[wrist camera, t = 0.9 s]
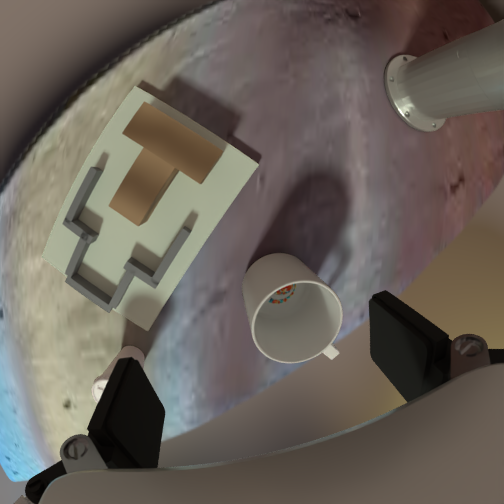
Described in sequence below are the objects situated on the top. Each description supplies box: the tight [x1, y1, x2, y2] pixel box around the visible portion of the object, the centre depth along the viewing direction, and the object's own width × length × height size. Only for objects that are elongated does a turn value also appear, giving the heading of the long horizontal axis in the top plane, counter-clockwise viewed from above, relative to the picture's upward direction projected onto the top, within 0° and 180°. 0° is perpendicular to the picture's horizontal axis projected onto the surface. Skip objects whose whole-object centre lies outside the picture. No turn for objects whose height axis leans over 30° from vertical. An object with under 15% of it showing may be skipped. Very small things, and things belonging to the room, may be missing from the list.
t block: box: [109, 101, 223, 226], centre depth 28 cm, size 11×10×4 cm
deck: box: [42, 86, 259, 331], centre depth 30 cm, size 25×18×3 cm
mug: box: [242, 253, 343, 363], centre depth 31 cm, size 12×9×11 cm
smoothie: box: [92, 346, 145, 404], centre depth 29 cm, size 6×6×14 cm
